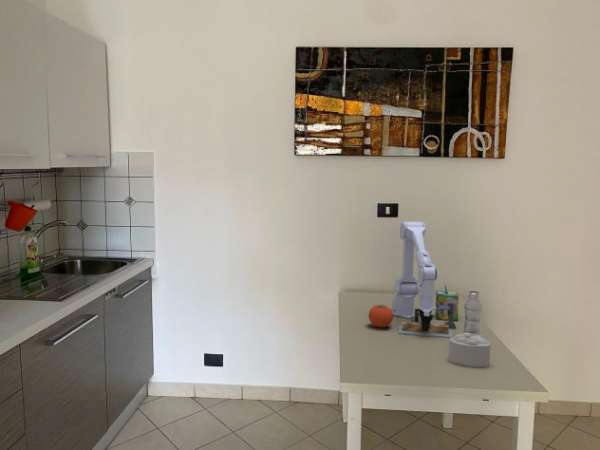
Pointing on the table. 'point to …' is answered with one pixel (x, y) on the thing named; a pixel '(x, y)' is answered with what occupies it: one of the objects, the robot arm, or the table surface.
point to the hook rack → (449, 323)
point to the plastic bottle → (472, 314)
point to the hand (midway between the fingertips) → (424, 328)
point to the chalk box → (446, 304)
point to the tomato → (380, 315)
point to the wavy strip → (432, 329)
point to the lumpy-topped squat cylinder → (469, 350)
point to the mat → (424, 333)
